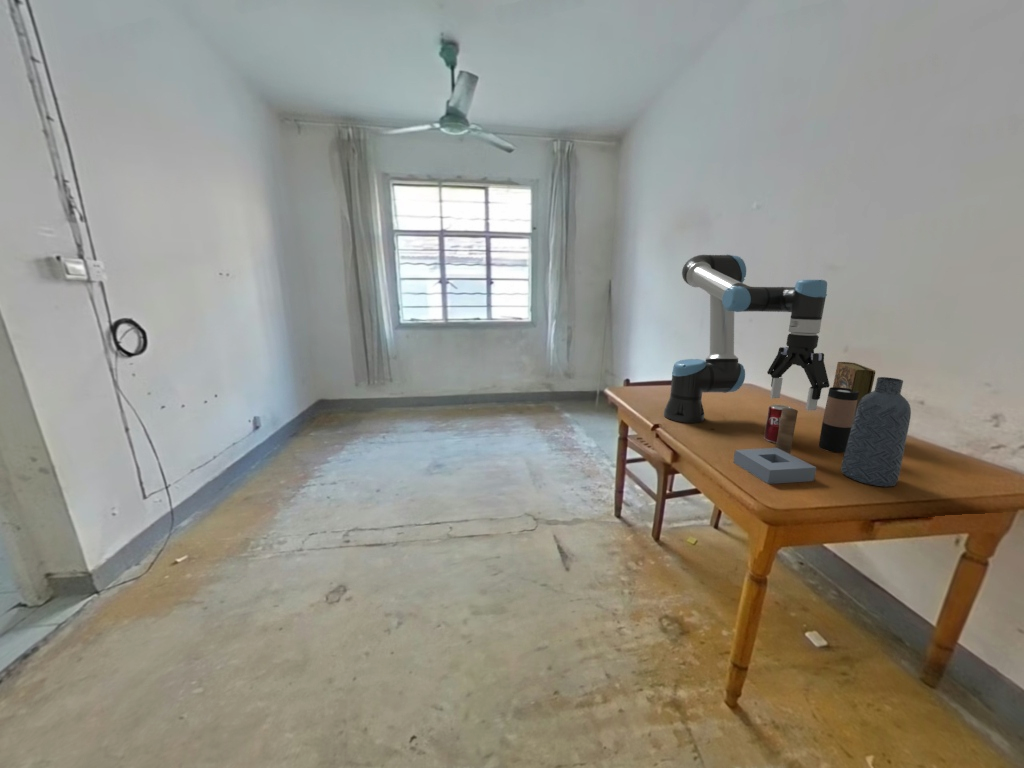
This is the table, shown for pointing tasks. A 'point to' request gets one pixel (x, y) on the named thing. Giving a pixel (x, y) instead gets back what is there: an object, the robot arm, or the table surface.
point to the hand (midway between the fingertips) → (791, 403)
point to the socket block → (774, 465)
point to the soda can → (773, 422)
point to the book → (854, 378)
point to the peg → (786, 429)
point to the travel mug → (838, 419)
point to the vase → (878, 435)
